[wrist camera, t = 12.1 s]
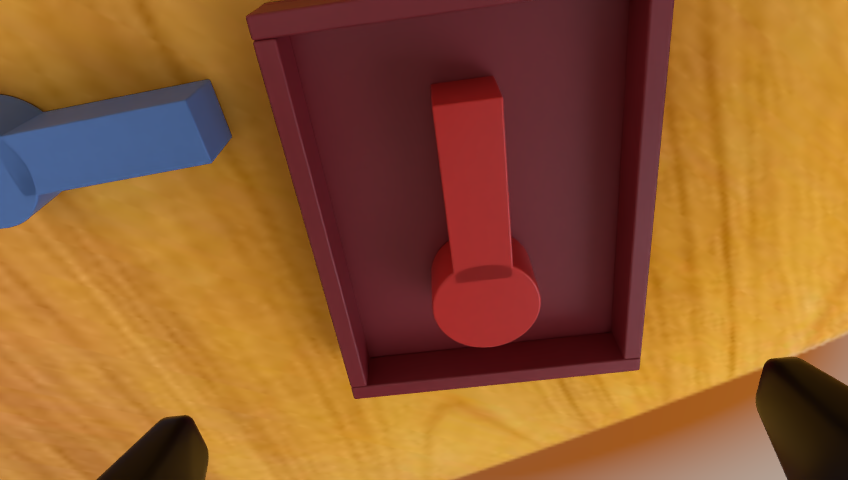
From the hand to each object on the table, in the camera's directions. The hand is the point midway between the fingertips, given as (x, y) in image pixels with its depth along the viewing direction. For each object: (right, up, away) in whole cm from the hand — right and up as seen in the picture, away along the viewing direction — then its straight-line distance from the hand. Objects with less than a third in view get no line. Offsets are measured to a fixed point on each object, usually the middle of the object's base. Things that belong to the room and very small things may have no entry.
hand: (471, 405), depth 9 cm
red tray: (+1, +4, +9) cm, 10 cm away
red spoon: (+1, +4, +9) cm, 10 cm away
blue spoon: (-11, +6, +8) cm, 15 cm away
